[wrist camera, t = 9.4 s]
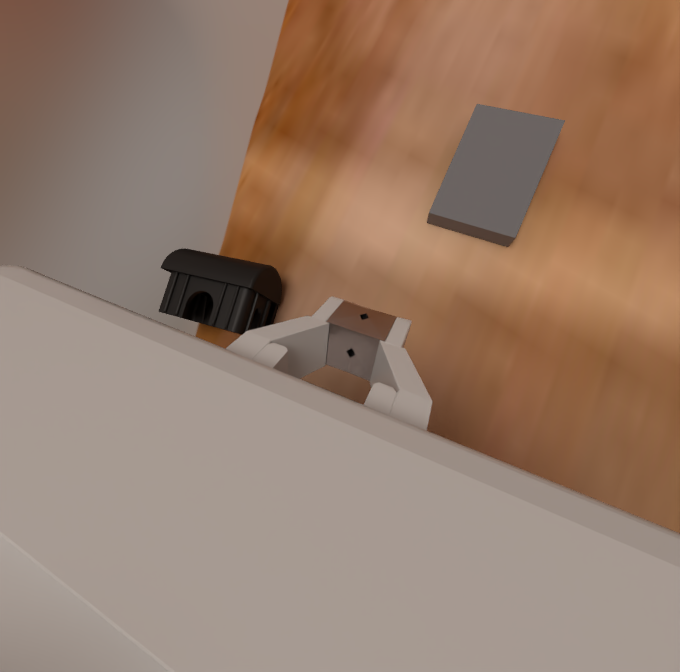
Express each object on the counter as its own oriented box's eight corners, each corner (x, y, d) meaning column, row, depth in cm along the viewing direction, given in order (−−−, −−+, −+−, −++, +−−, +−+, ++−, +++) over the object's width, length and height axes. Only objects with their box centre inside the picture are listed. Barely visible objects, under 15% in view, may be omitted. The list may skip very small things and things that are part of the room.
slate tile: (515, 238, 25) (564, 120, 26) (428, 212, 27) (476, 103, 28) (505, 249, 27) (551, 140, 28) (426, 224, 29) (471, 123, 30)
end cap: (290, 280, 31) (261, 254, 24) (272, 342, 30) (237, 332, 24) (214, 264, 33) (169, 237, 27) (196, 321, 33) (145, 307, 26)
